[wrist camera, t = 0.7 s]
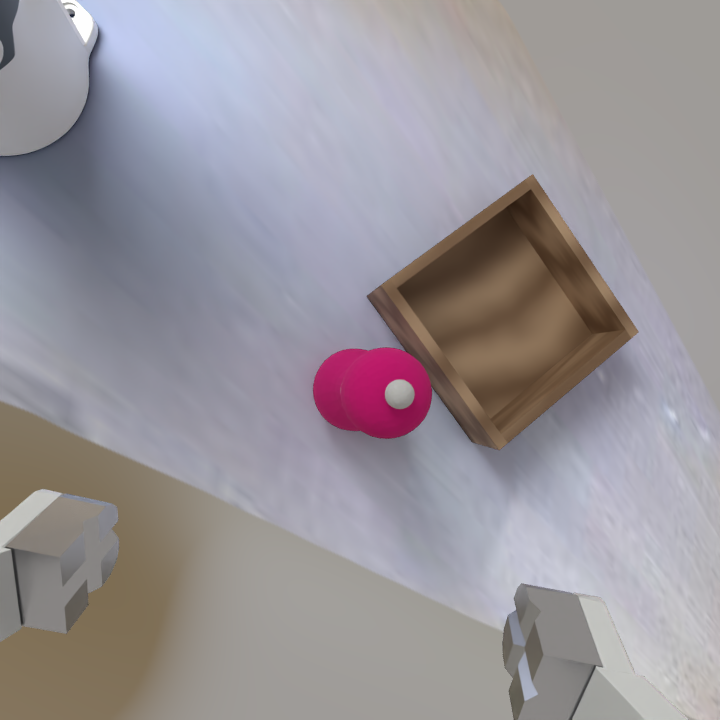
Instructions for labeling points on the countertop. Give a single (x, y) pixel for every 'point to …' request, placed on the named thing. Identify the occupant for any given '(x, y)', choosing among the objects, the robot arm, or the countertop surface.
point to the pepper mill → (373, 391)
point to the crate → (505, 315)
